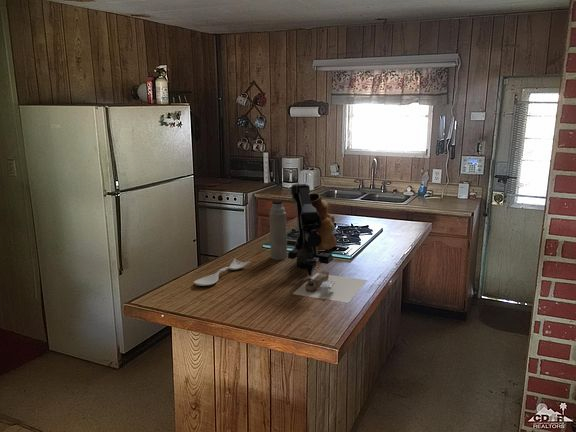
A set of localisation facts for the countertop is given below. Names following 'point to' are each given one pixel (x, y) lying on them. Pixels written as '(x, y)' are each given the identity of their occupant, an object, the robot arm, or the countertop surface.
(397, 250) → the countertop surface
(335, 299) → the base board
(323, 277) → the link
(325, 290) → the block
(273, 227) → the thermos bottle
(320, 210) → the ceramic vessel
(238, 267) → the spoon
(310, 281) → the pintle pin
